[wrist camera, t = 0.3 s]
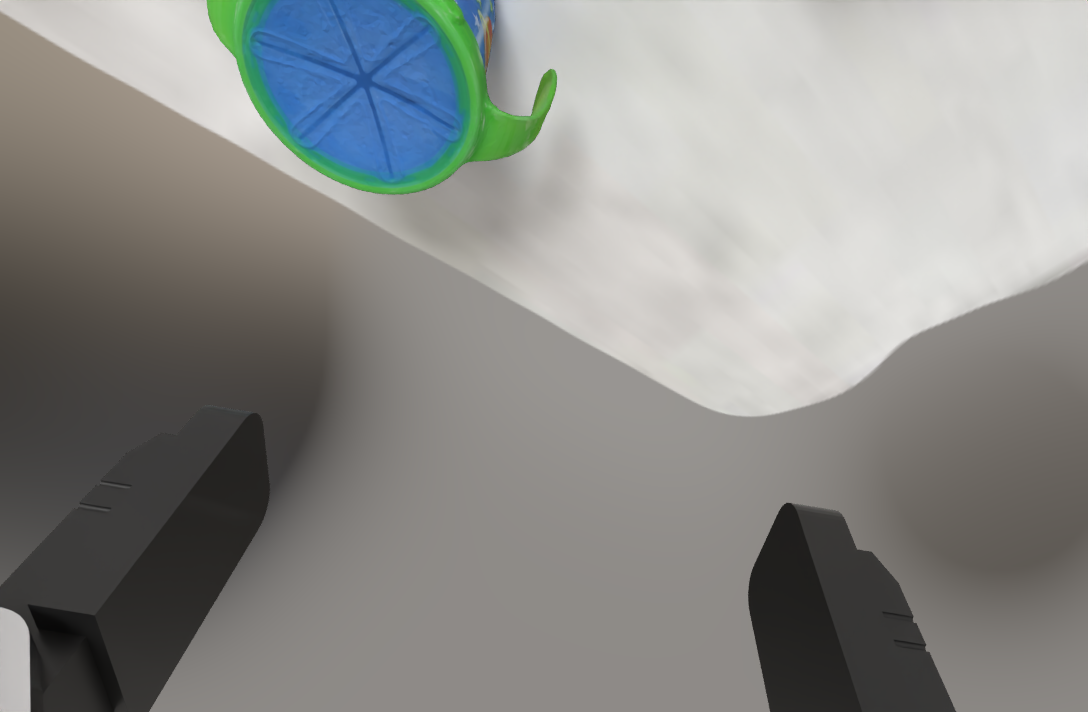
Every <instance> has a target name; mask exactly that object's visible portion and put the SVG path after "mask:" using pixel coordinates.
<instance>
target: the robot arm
mask: <svg viewBox="0 0 1088 712" xmlns="http://www.w3.org/2000/svg"><path fill="white" fill-rule="evenodd" d="M269 494H270V483H269V474H268V465H267V455H266V447H265V438H264V428H263V421H262V419H261V417H260V415H259V414H257V413H253V412H247V411H241V410H236V409H230V408H223V407H218V406H212V405H206V406H203V407H202V408H200V409H199V410H198V411H197V412H196V413H195V414H194V416H193V417H192V418H191V419H190V420H189V421H188V422H187V423H186V425H185V426H184V427H183V428H182V429H181V430H180V431H179V432H178V434H177V435H173V434H167V433H161V434H159V435H157V436H155V437H154V438H152V439H150V440H148V441H147V442H145V443H143V444H142V445H140V446H138V447H136V448H135V449H133V450H131V451H129V452H128V453H126V454H125V455H124V456H123V457H122V458H121V460H119V462H118V463H117V464H116V465H115V466H114V467H113V468H112V469H111V470H110V471H109V472H108V473H107V474H106V475H105V476H104V477H103V478H102V480H101V484H100V485H99V486H95V487H94V488H93V489H92V490H91V491H90V492H89V493H88V494H87V495H86V496H85V498H84V499H83V500H82V501H81V502H80V505H79V508H78V509H75V508H74V509H73V510H72V511H71V512H70V513H69V515H67V516H66V518H65V519H64V520H63V521H62V522H61V523H60V524H59V525H58V526H57V527H56V528H55V529H54V530H53V531H52V532H51V533H50V534H49V536H47V538H46V539H45V540H44V541H43V542H42V543H41V544H40V545H39V546H38V547H37V548H36V549H35V550H34V551H33V552H32V554H30V556H29V557H28V558H27V559H26V560H25V561H24V562H23V563H22V564H21V565H20V566H19V567H18V568H17V569H16V570H15V572H14V573H12V574H11V576H10V577H9V578H8V579H7V580H6V581H5V582H4V583H3V584H2V585H1V586H0V712H149V711H150V709H151V707H152V706H153V704H154V702H155V701H156V699H157V697H158V695H159V694H160V692H161V691H162V689H163V687H164V686H165V684H166V682H167V681H168V679H169V677H170V676H171V674H172V672H173V671H174V669H175V667H176V665H177V664H178V662H179V661H180V659H181V657H182V656H183V654H184V652H185V651H186V649H187V647H188V646H189V644H190V642H191V640H192V639H193V637H194V636H195V634H196V632H197V631H198V629H199V627H200V626H201V624H202V622H203V621H204V619H205V617H206V615H207V614H208V612H209V611H210V609H211V607H212V606H213V604H214V602H215V601H216V599H217V597H218V596H219V594H220V592H221V591H222V589H223V587H224V586H225V584H226V582H227V580H228V579H229V577H230V576H231V574H232V572H233V571H234V569H235V567H236V566H237V564H238V562H239V561H240V559H241V557H242V556H243V554H244V552H245V551H246V549H247V547H248V546H249V544H250V542H251V541H252V539H253V537H254V536H255V534H256V532H257V531H258V529H259V527H260V525H261V523H262V521H263V519H264V516H265V513H266V510H267V506H268V501H269ZM748 601H749V610H750V616H751V621H752V626H753V630H754V635H755V640H756V645H757V650H758V654H759V660H760V664H761V669H762V674H763V678H764V684H765V689H766V693H767V698H768V703H769V708H770V712H956V711H955V709H954V707H953V704H952V702H951V699H950V697H949V695H948V693H947V690H946V688H945V686H944V684H943V682H942V679H941V677H940V675H939V673H938V670H937V668H936V666H935V664H934V662H933V659H932V657H931V655H930V652H926V650H925V646H926V644H925V641H924V639H923V637H922V635H921V633H920V630H919V628H918V626H917V624H916V623H913V615H912V612H911V610H910V608H909V606H908V603H907V601H906V599H905V597H904V594H903V592H902V590H901V588H900V585H899V583H898V582H897V581H896V580H895V579H894V577H893V576H892V575H891V574H890V573H889V572H888V570H887V569H886V568H885V567H884V566H883V565H882V563H881V562H880V561H879V560H878V559H877V558H876V556H875V555H874V554H873V553H872V552H869V551H863V550H857V548H856V546H855V544H854V541H853V538H852V536H851V534H850V531H849V529H848V526H847V524H846V521H845V519H844V517H843V516H842V514H841V513H840V512H838V511H835V510H829V509H823V508H817V507H811V506H805V505H799V504H793V503H786V504H784V505H783V506H782V507H781V509H780V511H779V513H778V515H777V517H776V519H775V521H774V523H773V525H772V528H771V530H770V532H769V534H768V536H767V538H766V541H765V543H764V545H763V547H762V549H761V552H760V554H759V556H758V558H757V560H756V562H755V564H754V567H753V569H752V573H751V577H750V582H749V591H748Z"/></svg>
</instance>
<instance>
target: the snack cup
mask: <svg viewBox="0 0 1088 712" xmlns="http://www.w3.org/2000/svg"><path fill="white" fill-rule="evenodd" d="M207 8H208V15H209V19H210V22H211V24H212V27H213V30H214V32H215V33H216V35H217V36H218V37H219V39H220V41H221V42H222V43H223V44H224V45H225V47H226V48H227V49H228V50H229V51H230V52H231V53H232V54H233V55H234V57H235V58H236V59H237V64H238V68H239V71H240V75H241V78H242V81H243V84H244V86H245V88H246V90H247V93H248V95H249V97H250V99H251V101H252V103H253V104H254V106H255V108H256V110H257V111H258V113H259V114H260V116H261V118H262V119H263V120H264V122H265V123H266V125H267V126H268V127H269V128H270V129H271V131H272V132H273V133H274V134H275V135H276V136H277V137H278V138H279V139H280V141H281V142H282V143H283V144H284V145H285V146H286V147H287V148H288V149H290V150H291V151H292V152H293V153H294V154H295V155H296V156H297V157H299V158H300V159H301V160H302V161H304V162H305V163H306V164H308V165H309V166H311V167H312V168H314V169H315V170H317V171H318V172H320V173H322V174H324V175H325V176H327V177H329V178H331V179H333V180H335V181H337V182H339V183H342V184H344V185H347V186H350V187H352V188H356V189H358V190H362V191H367V192H373V193H378V194H392V195H393V194H409V193H414V192H419V191H422V190H426V189H428V188H432V187H434V186H436V185H437V184H439V183H441V182H442V181H444V180H446V179H447V178H449V177H450V176H451V175H452V174H453V173H454V172H455V171H456V170H457V169H458V168H459V167H461V166H462V165H463V164H465V163H467V162H473V161H489V160H497V159H500V158H504V157H509V156H511V155H513V154H515V153H517V152H519V151H521V150H523V149H524V148H526V147H527V146H528V145H529V144H531V143H532V142H533V141H534V140H535V138H536V136H537V135H538V133H539V131H540V129H541V127H542V124H543V122H544V120H545V117H546V115H547V113H548V111H549V109H550V107H551V104H552V101H553V98H554V95H555V91H556V85H557V75H556V72H555V70H553V69H550V70H548V71H547V72H546V73H545V74H544V75H543V77H542V79H541V82H540V85H539V88H538V91H537V94H536V98H535V102H534V105H533V109H532V114H531V116H513V115H510V114H507V113H505V112H502V111H500V110H499V109H498V108H497V107H496V106H495V105H493V104H492V103H491V101H490V99H489V96H488V93H487V83H486V71H487V66H488V61H489V55H490V50H491V44H492V34H493V31H494V23H495V7H494V0H207Z"/></svg>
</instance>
